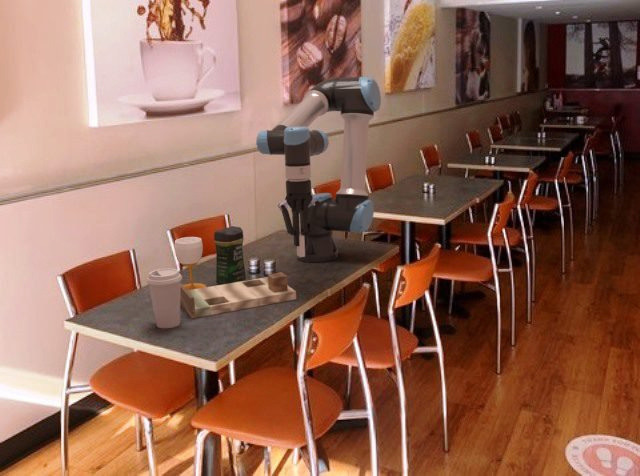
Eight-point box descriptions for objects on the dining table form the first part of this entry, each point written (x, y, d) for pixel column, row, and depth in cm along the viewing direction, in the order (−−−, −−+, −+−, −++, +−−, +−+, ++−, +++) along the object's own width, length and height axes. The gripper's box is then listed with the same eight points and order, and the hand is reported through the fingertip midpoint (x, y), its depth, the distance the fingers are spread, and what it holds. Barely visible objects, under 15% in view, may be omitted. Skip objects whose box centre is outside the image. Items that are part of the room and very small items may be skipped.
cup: (172, 289, 219) (167, 241, 215) (195, 282, 226) (191, 235, 222) (189, 294, 213) (185, 245, 209) (212, 287, 220) (208, 239, 216)
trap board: (274, 283, 222) (273, 265, 220) (296, 299, 206) (295, 280, 204) (177, 300, 209) (175, 281, 207) (192, 318, 193) (190, 298, 191)
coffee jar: (230, 288, 218) (227, 232, 213) (212, 284, 222) (208, 229, 218) (250, 280, 225) (247, 225, 221) (232, 277, 230) (229, 223, 225)
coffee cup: (153, 319, 193) (148, 268, 190) (187, 316, 194) (183, 266, 190) (148, 331, 184) (142, 278, 180) (184, 329, 185) (179, 276, 181)
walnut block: (282, 286, 210) (281, 272, 209) (287, 290, 206) (287, 276, 205) (268, 288, 208) (267, 274, 207) (273, 292, 204) (273, 278, 203)
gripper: (282, 183, 197) (285, 261, 202) (323, 179, 202) (325, 255, 207) (273, 179, 203) (276, 256, 209) (313, 176, 208) (315, 250, 214)
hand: (301, 255), depth 208 cm, fingers closed
